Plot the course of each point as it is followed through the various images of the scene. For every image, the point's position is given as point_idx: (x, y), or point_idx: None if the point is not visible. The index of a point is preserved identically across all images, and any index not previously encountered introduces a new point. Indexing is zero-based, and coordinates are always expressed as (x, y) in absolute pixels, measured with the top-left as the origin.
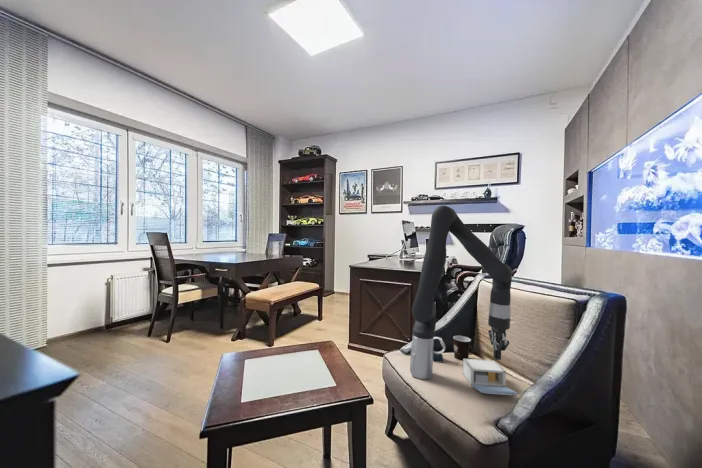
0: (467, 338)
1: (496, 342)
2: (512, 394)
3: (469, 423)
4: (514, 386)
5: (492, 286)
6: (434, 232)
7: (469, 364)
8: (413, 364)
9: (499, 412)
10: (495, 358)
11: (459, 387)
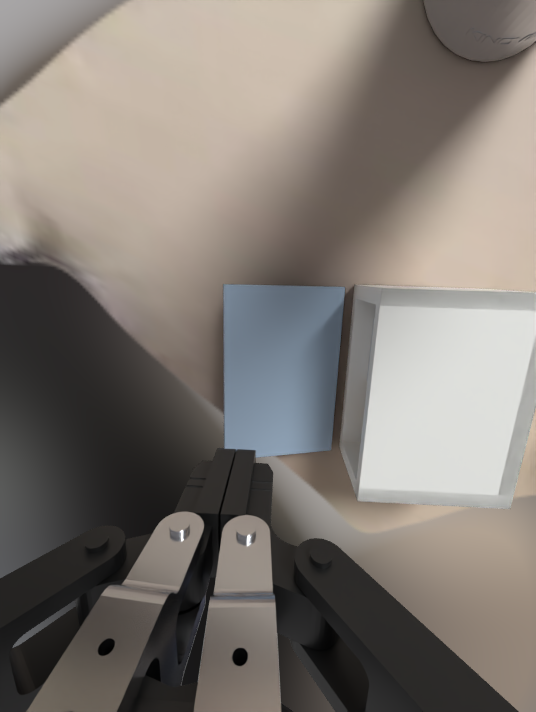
0: None
1: (85, 638)
2: (224, 435)
3: (19, 139)
4: None
5: None
6: None
7: (453, 302)
8: None
9: (134, 323)
10: (218, 453)
11: (332, 210)
